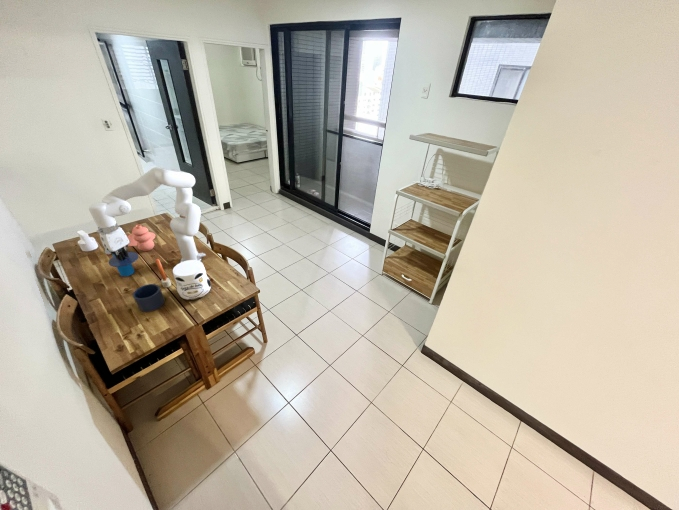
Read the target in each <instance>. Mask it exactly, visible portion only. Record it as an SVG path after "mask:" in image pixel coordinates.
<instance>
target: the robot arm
mask: <svg viewBox="0 0 679 510" xmlns="http://www.w3.org/2000/svg"><path fill="white" fill-rule="evenodd" d="M162 185H163V186H166V187H172V188H175V192H176V195H175V196H176V197H175V201H174V202H175V203H174V212H175V213H176V214H177V215H179V216H175V217H173V218H172V219H171V220H170V222H169V227H170V230H171V231H172V234H173V236H174V238H175V241H176V243H177V246H178V249H179V252H180V255H181V258H180V263H181V262H184V261H187V260H198V261H200V262H202V258H205V257H207V255H206V253H204V252H199V251H198V250H197V246H196V243H195V240H194V237H195V236H196V235H197V234H198V232H199V229H200V224H201V218H202V217H201V216H202V211H201V208H200V206H199V205H198V204H196V203H194V202H193V187H194V186H195V185H196V178H195V176H194V175H193V174H191V173H189V172H186V171H183V170H179V169H175V168H174V169H167V168H163V167H159V166H155V167H153V168H151V169H149V170H148V171H147V172H145V173H144V174H143V175H141V176H140V177H138V178H137V179H136V180H134V181H133V182H128V183H127V184H124V185H121V186H119V187H116V188H114V189H113V190H111V191H110V192H109V193H107V194H105V196H104V197H103V198H102V200H101V202H96V203H92V204H91V205H89V207H88V211H89V213H90V215H91V216H92V218H93V221H94V222H95V224H96V226H97V230H96V233H98V234H99V238H100V241H101V243H102V247H103V248H104V254H106V255H113V254H114V255H115V257H116V259H118V260H121V261H122V260H123V259H122V257H121V254H119V253H118V249H120V248H121V249H122V250H123V252H124V254H125V256H126V257H129V256H128V252H129V251H128V247H129V246H128V244H129V243H130V241H129V239H128V237H127V236H128V235H127V234H126V233H125V231H124V229H123V228H122V227H121V226H119V225H118V223H117V221H116V218H115V217H121V216H125V215H128V214H130V212H131V211H132V206H131V203H129V202H128V200H129V199H133V198H135V197H136V198H138V197H144V196H149V195H150V194H152V193H153V192H154V191H155V190H157V189H158V188H159V187H160V186H162Z"/></svg>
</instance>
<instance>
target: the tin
mask: <svg viewBox="0 0 679 510" xmlns="http://www.w3.org/2000/svg"><path fill="white" fill-rule="evenodd" d="M132 297H133V299H134V301H135V303H136V305H137V307H138V309H139V310H140V311H141V312H144V313H148V312H153V311H156V310H158V309H160V308H161V307H162V306H163V305H164V304H165V301H166V300H165V297H164V293H163V292H162V289H161V287H160V285H158V284H155V283H149V284H144V285H142V286H140V287H138V288H137V289H135V290H134V292H133V293H132Z"/></svg>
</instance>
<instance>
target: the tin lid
mask: <svg viewBox="0 0 679 510" xmlns="http://www.w3.org/2000/svg"><path fill="white" fill-rule="evenodd" d="M127 252H128V256H129V257H126V256H125V254H124V252H123V250H122V249H120V250H118V253H119V254H121V257H122V259H123V260H122V261H121V260H118V259H116V257H115V256H114V257H113V256H112V257H111V258H110V259H109V260H108V265H109V266H110V267H113V268H117V267H122V266H126V265H129V264H133V263H135V262H136V261H137V260H138V259H139V255H138V253H137V252H134V251H127Z"/></svg>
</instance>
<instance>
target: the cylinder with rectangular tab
mask: <svg viewBox="0 0 679 510" xmlns="http://www.w3.org/2000/svg"><path fill="white" fill-rule="evenodd" d="M76 233H77V236H78V238H79V240H77V244H78V246H79V248H80V249H81V251H82V252H91V251H94V250H96V249H98V248H99V244H98V242H97V240H96V239H95V237H94V236H90V235H89V233H87V232H86V231H84V230H82V229H81V230H78V231H76Z"/></svg>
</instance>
